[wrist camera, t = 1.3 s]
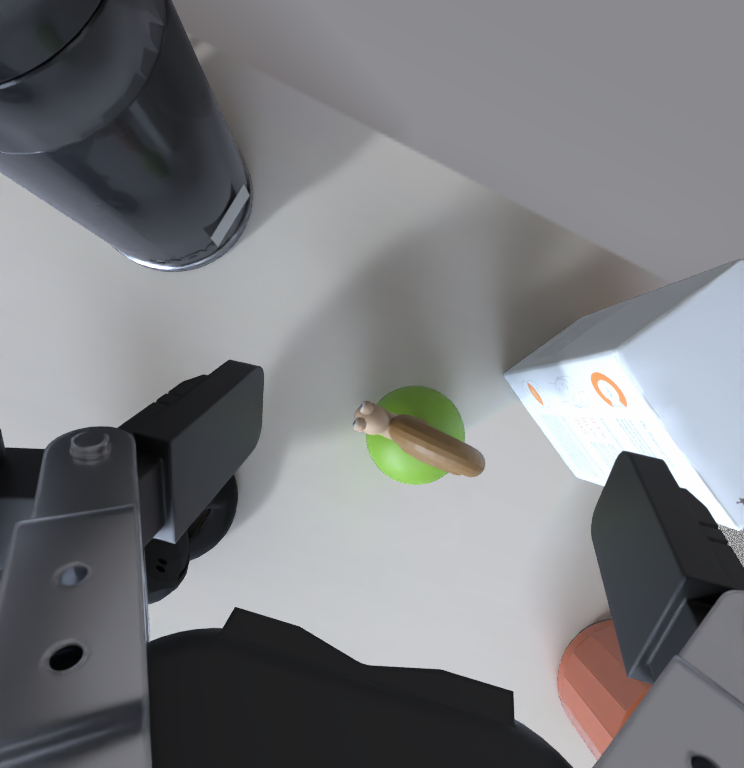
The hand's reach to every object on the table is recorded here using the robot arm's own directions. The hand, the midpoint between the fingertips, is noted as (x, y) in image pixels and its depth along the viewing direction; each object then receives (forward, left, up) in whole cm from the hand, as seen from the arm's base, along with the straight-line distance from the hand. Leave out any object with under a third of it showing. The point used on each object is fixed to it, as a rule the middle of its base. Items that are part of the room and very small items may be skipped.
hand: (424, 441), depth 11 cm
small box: (+3, +12, -19) cm, 23 cm away
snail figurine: (+1, +1, -19) cm, 19 cm away
